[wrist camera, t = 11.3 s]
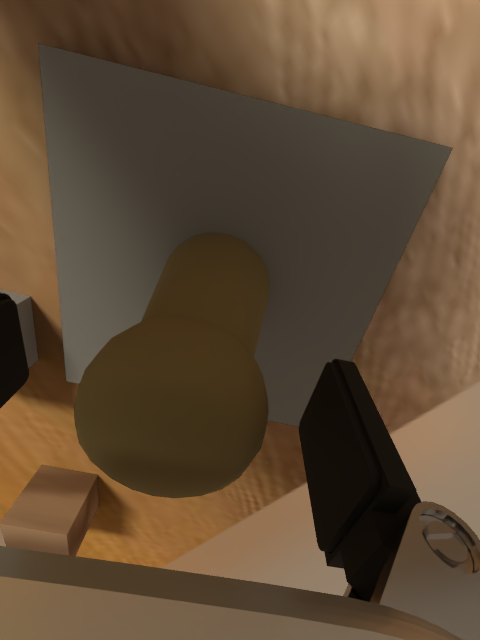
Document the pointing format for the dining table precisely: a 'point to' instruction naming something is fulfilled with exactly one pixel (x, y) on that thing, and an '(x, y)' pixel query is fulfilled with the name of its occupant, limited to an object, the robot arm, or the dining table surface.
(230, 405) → the olive lobed rounded piece
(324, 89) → the dining table surface
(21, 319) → the slate-grey block
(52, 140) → the mat
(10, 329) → the robot arm
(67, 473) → the walnut block
